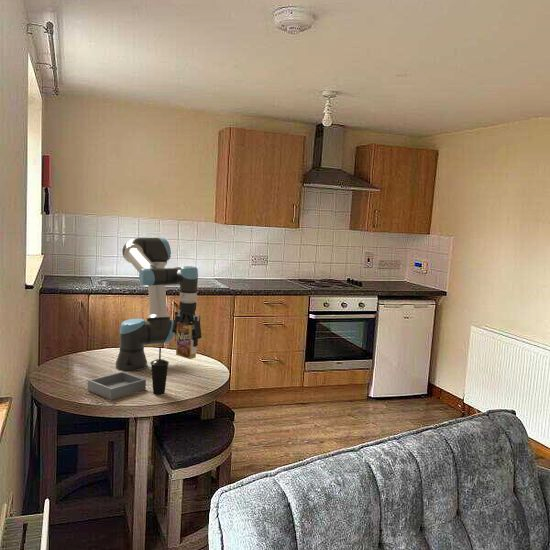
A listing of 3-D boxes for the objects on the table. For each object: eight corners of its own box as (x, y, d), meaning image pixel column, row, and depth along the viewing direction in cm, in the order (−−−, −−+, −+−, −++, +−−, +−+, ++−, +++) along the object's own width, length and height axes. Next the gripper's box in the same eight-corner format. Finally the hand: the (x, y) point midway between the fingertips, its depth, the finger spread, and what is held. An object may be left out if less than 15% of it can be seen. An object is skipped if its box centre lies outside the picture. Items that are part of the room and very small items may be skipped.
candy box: (175, 355, 241) (176, 322, 239) (182, 353, 244) (183, 320, 242) (189, 359, 236) (190, 325, 234) (196, 357, 239) (197, 324, 237)
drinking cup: (151, 389, 235) (152, 345, 232) (168, 390, 235) (170, 345, 233) (148, 396, 227) (149, 349, 225) (166, 396, 228) (168, 350, 225)
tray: (87, 390, 230) (87, 380, 229) (122, 381, 244) (122, 371, 244) (110, 399, 220) (111, 389, 220) (145, 389, 235) (145, 379, 234)
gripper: (165, 298, 240) (163, 347, 243) (199, 306, 227) (197, 358, 231) (177, 296, 246) (175, 344, 249) (211, 304, 233) (209, 354, 237)
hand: (185, 351), depth 240 cm, fingers closed on candy box, 9 cm apart
